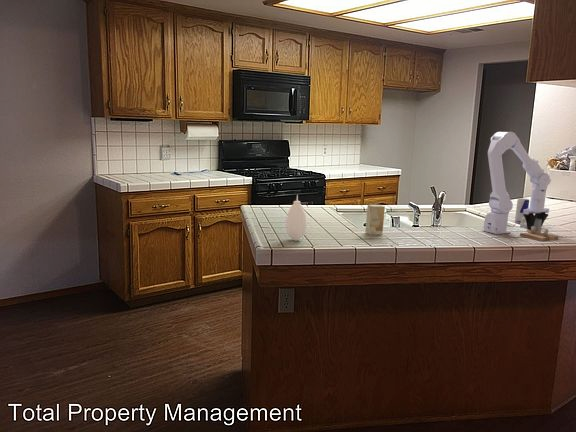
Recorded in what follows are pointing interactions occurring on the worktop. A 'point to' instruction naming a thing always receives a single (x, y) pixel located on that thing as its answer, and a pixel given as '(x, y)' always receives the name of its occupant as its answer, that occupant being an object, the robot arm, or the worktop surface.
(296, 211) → the sauce bottle
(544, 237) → the pin block
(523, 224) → the feeder chute
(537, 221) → the sleeve
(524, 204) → the energy drink
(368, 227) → the skincare box
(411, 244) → the worktop surface
